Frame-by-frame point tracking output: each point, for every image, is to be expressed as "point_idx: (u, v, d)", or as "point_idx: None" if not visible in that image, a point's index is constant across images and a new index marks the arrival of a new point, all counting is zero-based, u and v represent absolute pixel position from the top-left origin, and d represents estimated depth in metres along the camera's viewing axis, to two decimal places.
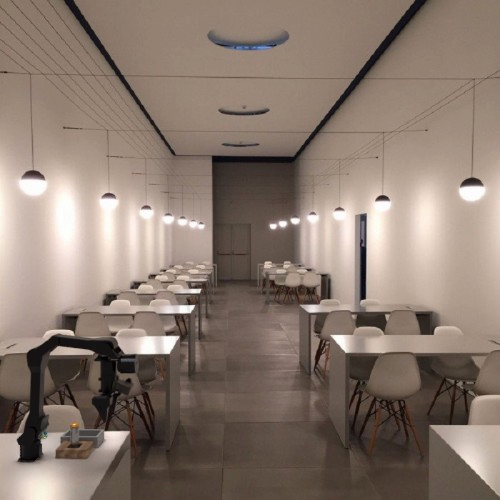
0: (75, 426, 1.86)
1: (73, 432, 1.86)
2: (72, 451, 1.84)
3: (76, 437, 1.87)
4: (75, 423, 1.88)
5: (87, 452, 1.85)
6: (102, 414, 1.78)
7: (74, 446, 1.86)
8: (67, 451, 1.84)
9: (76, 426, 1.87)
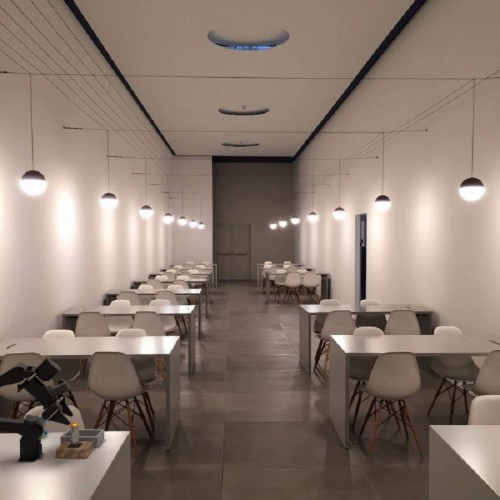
0: (75, 426, 1.86)
1: (73, 432, 1.86)
2: (72, 451, 1.84)
3: (76, 437, 1.87)
4: (75, 423, 1.88)
5: (87, 452, 1.85)
6: (62, 420, 1.81)
7: (74, 446, 1.86)
8: (67, 451, 1.84)
9: (76, 426, 1.87)
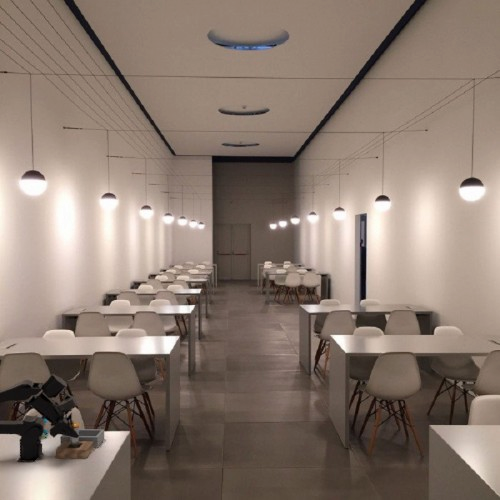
0: (75, 426, 1.86)
1: None
2: (72, 451, 1.84)
3: None
4: (75, 423, 1.88)
5: (87, 452, 1.85)
6: (71, 433, 1.85)
7: (74, 446, 1.86)
8: (67, 451, 1.84)
9: (76, 426, 1.87)
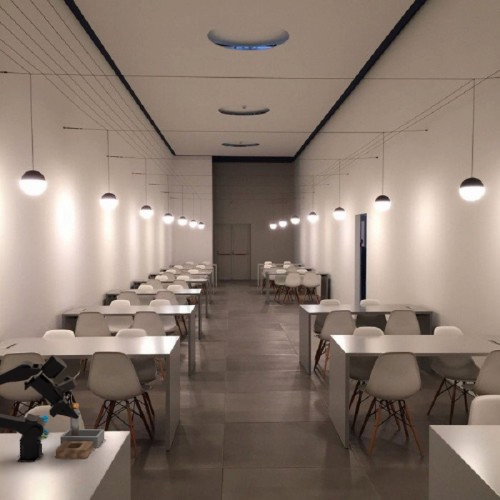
0: (75, 407, 1.86)
1: None
2: (72, 451, 1.84)
3: None
4: (75, 404, 1.88)
5: (87, 452, 1.85)
6: (70, 414, 1.85)
7: (74, 427, 1.86)
8: (67, 451, 1.84)
9: (76, 407, 1.87)
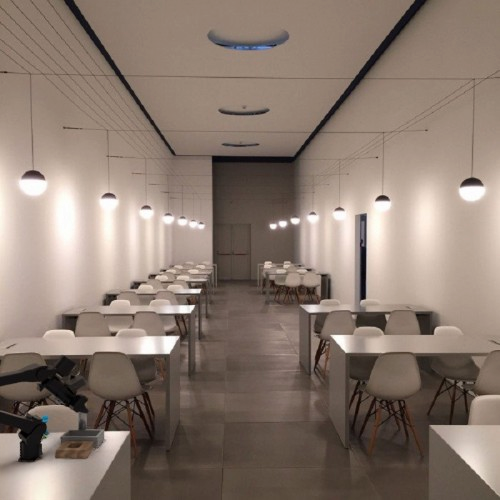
0: None
1: None
2: (72, 451, 1.84)
3: None
4: None
5: (87, 452, 1.85)
6: (82, 409, 1.95)
7: (84, 421, 1.96)
8: (67, 451, 1.84)
9: None
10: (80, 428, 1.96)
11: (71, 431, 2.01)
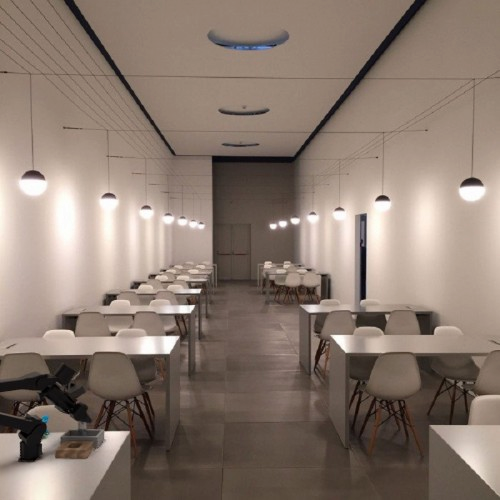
0: None
1: None
2: (72, 451, 1.84)
3: (85, 424, 1.97)
4: None
5: (87, 452, 1.85)
6: (86, 419, 1.93)
7: (83, 433, 1.96)
8: (67, 451, 1.84)
9: None
10: None
11: (71, 431, 2.01)
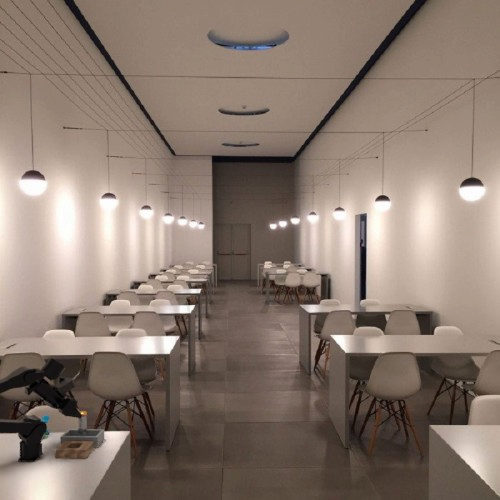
0: (85, 414, 1.96)
1: (83, 420, 1.96)
2: (72, 451, 1.84)
3: (85, 424, 1.97)
4: (83, 412, 1.97)
5: (87, 452, 1.85)
6: (76, 414, 1.90)
7: (84, 433, 1.96)
8: (67, 451, 1.84)
9: (85, 414, 1.97)
10: None
11: (71, 431, 2.01)
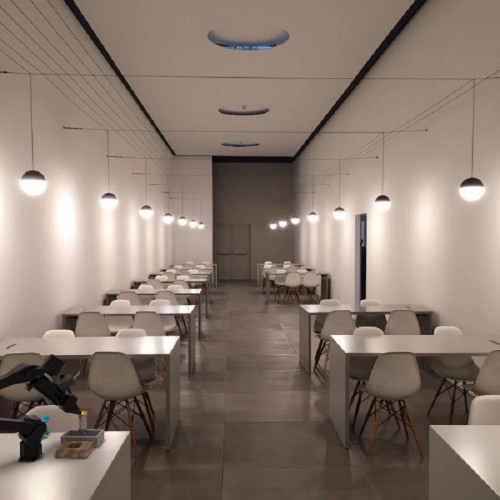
0: (85, 414, 1.97)
1: (83, 420, 1.96)
2: (72, 451, 1.84)
3: (85, 424, 1.97)
4: (83, 412, 1.98)
5: (87, 452, 1.85)
6: (76, 411, 1.90)
7: (84, 433, 1.96)
8: (67, 451, 1.84)
9: (85, 414, 1.97)
10: None
11: (71, 431, 2.01)
